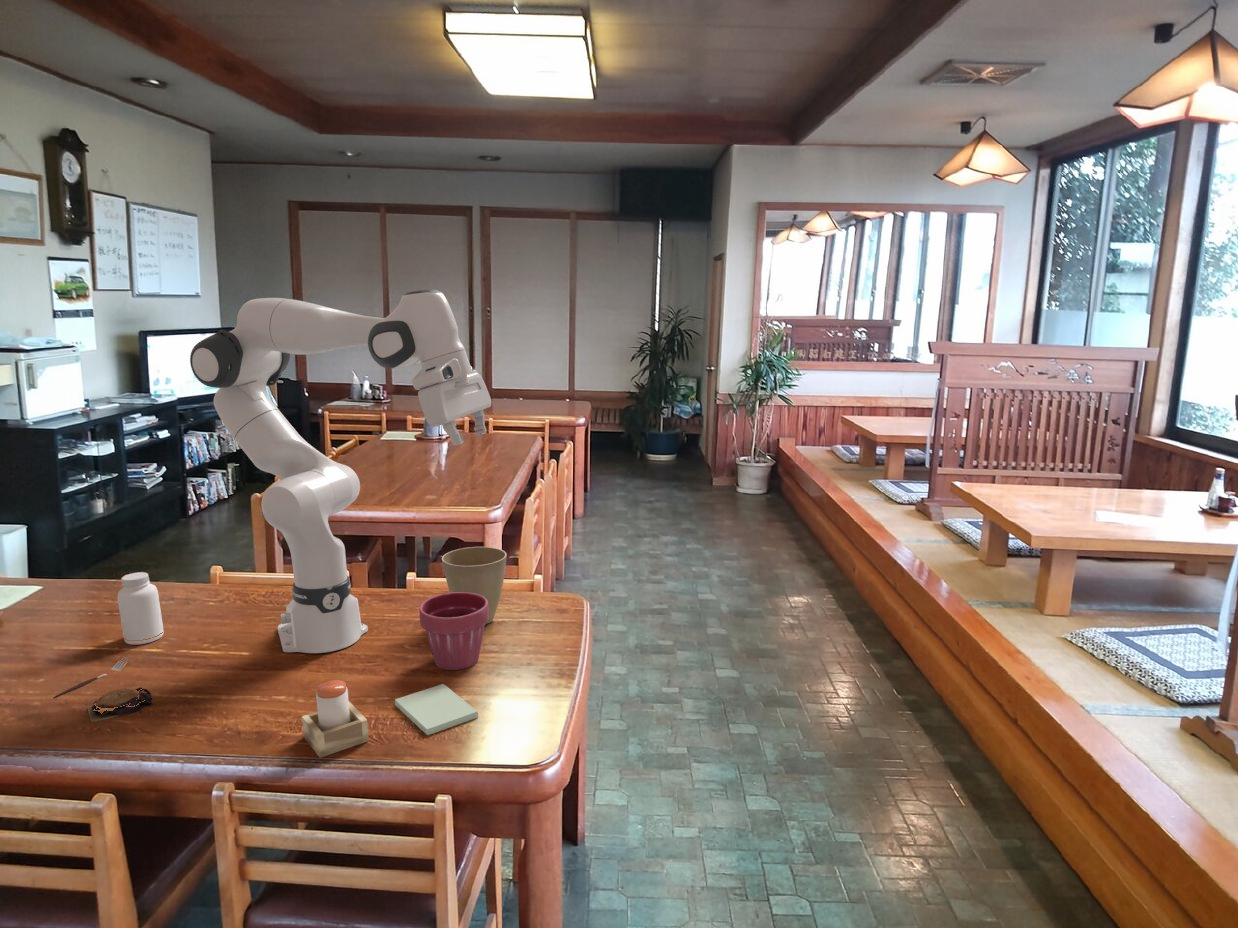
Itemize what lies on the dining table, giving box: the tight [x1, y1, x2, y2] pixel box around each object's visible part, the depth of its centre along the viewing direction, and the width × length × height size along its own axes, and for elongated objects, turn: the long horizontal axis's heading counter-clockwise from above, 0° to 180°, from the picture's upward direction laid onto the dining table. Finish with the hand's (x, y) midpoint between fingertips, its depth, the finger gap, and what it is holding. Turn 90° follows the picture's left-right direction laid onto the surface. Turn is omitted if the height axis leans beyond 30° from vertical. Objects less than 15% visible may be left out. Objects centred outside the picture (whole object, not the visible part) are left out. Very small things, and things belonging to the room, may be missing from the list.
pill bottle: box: [116, 571, 164, 646], centre depth 189 cm, size 8×8×15 cm
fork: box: [52, 657, 131, 699], centre depth 170 cm, size 3×16×2 cm, turn 158°
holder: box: [301, 701, 370, 759], centre depth 146 cm, size 8×8×4 cm
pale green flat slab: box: [394, 683, 479, 736], centre depth 156 cm, size 14×10×1 cm
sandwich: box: [86, 687, 154, 723], centre depth 159 cm, size 11×8×4 cm
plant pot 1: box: [441, 546, 508, 625], centre depth 197 cm, size 15×15×16 cm
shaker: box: [315, 679, 351, 732], centre depth 145 cm, size 5×5×9 cm
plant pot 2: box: [419, 592, 489, 671], centre depth 175 cm, size 14×14×13 cm
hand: (470, 439), depth 163 cm, fingers open, 8 cm apart
